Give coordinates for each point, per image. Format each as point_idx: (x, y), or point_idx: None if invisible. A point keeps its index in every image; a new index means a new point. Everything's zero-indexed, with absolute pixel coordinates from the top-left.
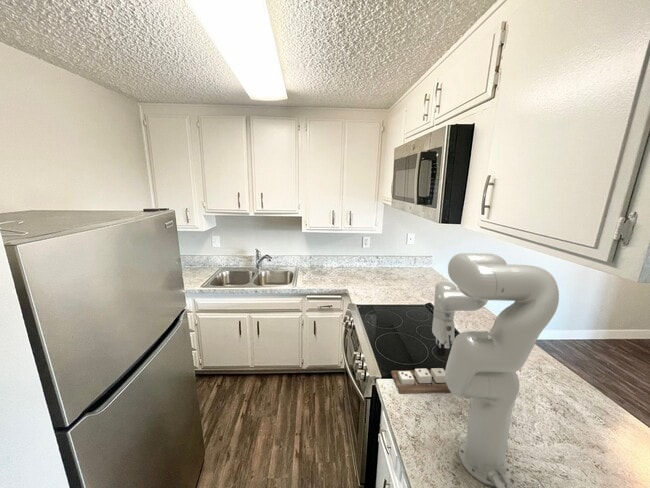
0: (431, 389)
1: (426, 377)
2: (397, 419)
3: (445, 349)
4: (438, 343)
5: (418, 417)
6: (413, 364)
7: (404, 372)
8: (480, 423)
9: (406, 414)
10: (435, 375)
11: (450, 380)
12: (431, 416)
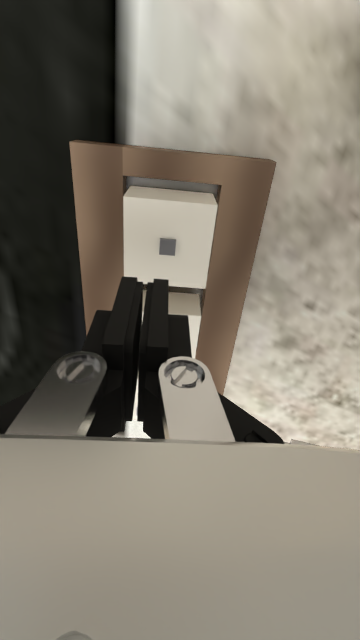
0: (240, 312)
1: (197, 337)
2: (314, 442)
3: (167, 322)
4: (106, 436)
5: (333, 394)
6: (7, 288)
7: (136, 402)
8: None
9: (307, 419)
10: (190, 285)
11: None
12: (348, 357)
